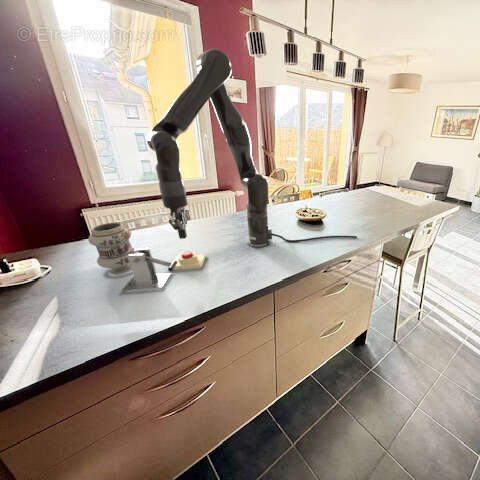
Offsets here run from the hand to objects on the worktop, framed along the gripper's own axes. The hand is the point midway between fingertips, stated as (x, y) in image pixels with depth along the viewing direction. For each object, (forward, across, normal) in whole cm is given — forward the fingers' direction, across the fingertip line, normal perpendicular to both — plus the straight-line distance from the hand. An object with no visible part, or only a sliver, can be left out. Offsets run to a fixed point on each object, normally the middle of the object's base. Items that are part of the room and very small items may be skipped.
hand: (183, 237), depth 92 cm
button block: (+12, 0, 0) cm, 12 cm away
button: (+8, 0, 0) cm, 8 cm away
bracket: (+12, -12, +10) cm, 20 cm away
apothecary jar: (+12, -1, +23) cm, 26 cm away
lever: (+4, -12, +6) cm, 14 cm away
